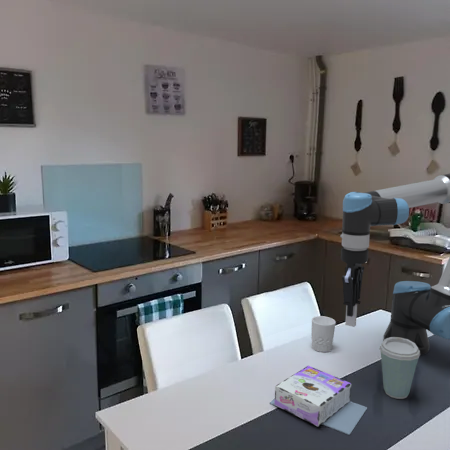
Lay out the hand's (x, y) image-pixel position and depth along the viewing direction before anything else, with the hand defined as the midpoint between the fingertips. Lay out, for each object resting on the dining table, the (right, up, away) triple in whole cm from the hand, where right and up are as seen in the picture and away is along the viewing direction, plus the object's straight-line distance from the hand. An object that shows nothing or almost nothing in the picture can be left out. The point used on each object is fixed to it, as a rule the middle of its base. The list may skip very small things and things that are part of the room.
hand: (350, 324), depth 135 cm
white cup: (-4, -13, +22) cm, 26 cm away
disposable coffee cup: (+11, -19, -5) cm, 22 cm away
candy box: (-8, -15, -6) cm, 18 cm away
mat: (-12, -19, -12) cm, 26 cm away
